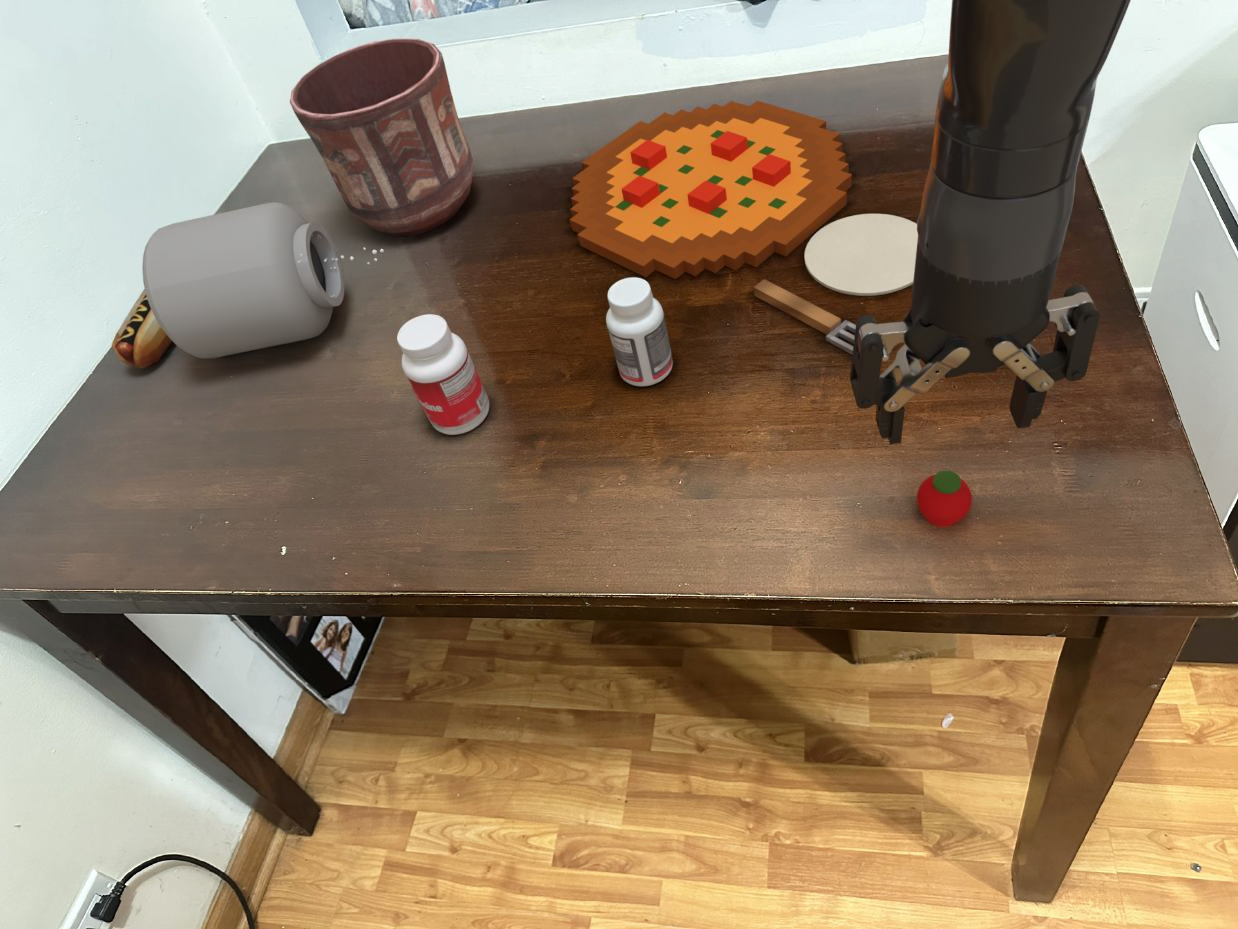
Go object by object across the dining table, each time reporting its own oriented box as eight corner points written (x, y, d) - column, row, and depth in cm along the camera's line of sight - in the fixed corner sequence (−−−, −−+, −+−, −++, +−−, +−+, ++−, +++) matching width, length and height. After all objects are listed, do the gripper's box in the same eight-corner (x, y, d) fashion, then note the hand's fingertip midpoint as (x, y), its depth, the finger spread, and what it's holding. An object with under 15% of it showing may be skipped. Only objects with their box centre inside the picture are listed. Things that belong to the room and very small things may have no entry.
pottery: (421, 267, 103) (359, 128, 89) (328, 233, 112) (259, 101, 98) (514, 185, 111) (471, 46, 97) (421, 159, 119) (369, 28, 106)
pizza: (719, 313, 88) (716, 290, 86) (522, 217, 106) (515, 195, 103) (902, 155, 99) (904, 131, 97) (696, 92, 117) (693, 71, 115)
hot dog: (206, 299, 107) (184, 266, 104) (165, 375, 99) (138, 343, 95) (171, 303, 108) (147, 271, 104) (126, 379, 100) (99, 347, 96)
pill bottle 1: (421, 413, 87) (377, 332, 78) (472, 382, 88) (435, 298, 80) (449, 447, 83) (407, 365, 75) (502, 413, 85) (466, 329, 76)
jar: (228, 238, 106) (405, 189, 99) (257, 357, 108) (433, 318, 101) (99, 225, 88) (303, 165, 81) (137, 368, 90) (340, 322, 83)
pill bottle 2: (665, 343, 87) (650, 265, 79) (679, 378, 83) (665, 300, 76) (614, 358, 87) (594, 282, 79) (625, 394, 83) (606, 318, 76)
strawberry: (936, 485, 70) (941, 451, 67) (979, 512, 68) (986, 478, 65) (904, 515, 69) (907, 482, 66) (947, 543, 67) (953, 511, 63)
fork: (749, 299, 89) (748, 290, 88) (769, 284, 89) (768, 275, 89) (867, 363, 80) (868, 354, 79) (887, 346, 81) (888, 336, 80)
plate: (859, 202, 95) (859, 199, 95) (962, 245, 88) (962, 241, 88) (778, 263, 91) (778, 260, 91) (878, 313, 84) (878, 310, 83)
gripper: (872, 296, 46) (861, 482, 58) (1154, 253, 44) (1082, 454, 57) (846, 214, 51) (841, 402, 63) (1099, 173, 49) (1044, 375, 62)
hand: (955, 427), depth 60 cm, fingers open, 8 cm apart
